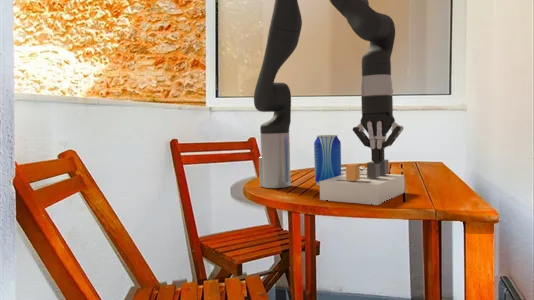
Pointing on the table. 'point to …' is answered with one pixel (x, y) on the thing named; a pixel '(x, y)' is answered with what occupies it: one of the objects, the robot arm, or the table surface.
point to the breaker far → (384, 168)
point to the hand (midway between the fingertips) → (378, 163)
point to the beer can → (327, 157)
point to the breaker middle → (373, 170)
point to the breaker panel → (362, 189)
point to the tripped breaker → (352, 172)
